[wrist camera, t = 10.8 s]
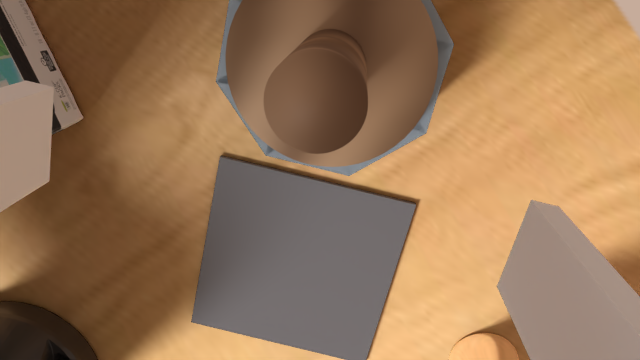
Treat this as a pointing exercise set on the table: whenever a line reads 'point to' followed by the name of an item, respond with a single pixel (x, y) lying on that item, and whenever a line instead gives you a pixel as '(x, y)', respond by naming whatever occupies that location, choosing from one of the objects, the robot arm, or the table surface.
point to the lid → (331, 75)
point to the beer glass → (483, 348)
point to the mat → (298, 259)
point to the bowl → (420, 129)
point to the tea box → (32, 61)
